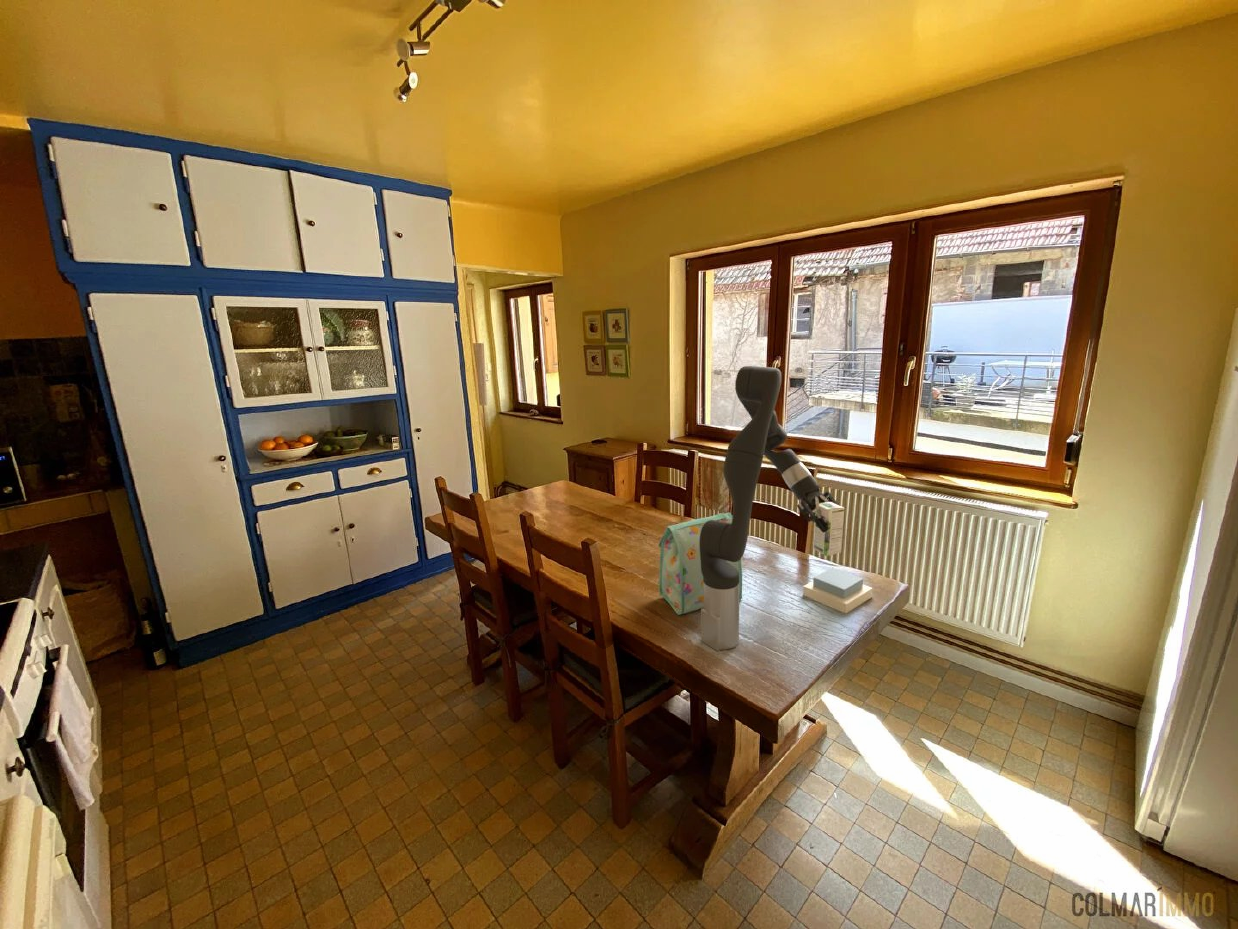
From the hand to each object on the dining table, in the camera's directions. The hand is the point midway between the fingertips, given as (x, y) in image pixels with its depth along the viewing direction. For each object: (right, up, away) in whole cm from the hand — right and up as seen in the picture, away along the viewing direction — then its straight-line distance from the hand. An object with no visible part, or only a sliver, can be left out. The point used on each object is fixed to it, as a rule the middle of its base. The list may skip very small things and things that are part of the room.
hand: (833, 527), depth 147 cm
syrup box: (-1, -8, +3) cm, 8 cm away
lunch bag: (-38, -23, +9) cm, 45 cm away
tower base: (+4, -22, +6) cm, 23 cm away
